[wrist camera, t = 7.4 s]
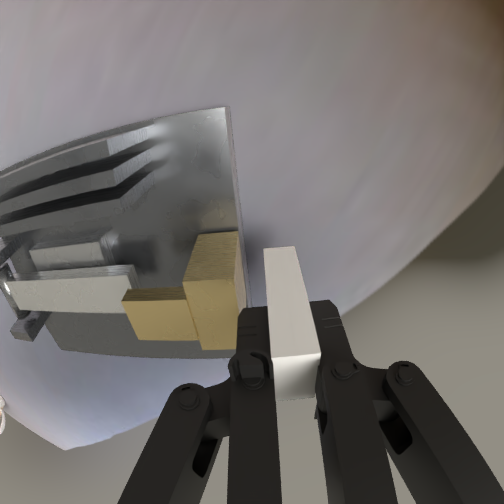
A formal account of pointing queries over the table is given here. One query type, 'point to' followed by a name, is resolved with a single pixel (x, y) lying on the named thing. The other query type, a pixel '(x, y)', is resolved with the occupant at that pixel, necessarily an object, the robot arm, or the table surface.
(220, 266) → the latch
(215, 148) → the heatsink base
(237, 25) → the table surface
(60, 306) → the strap
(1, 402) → the mug
